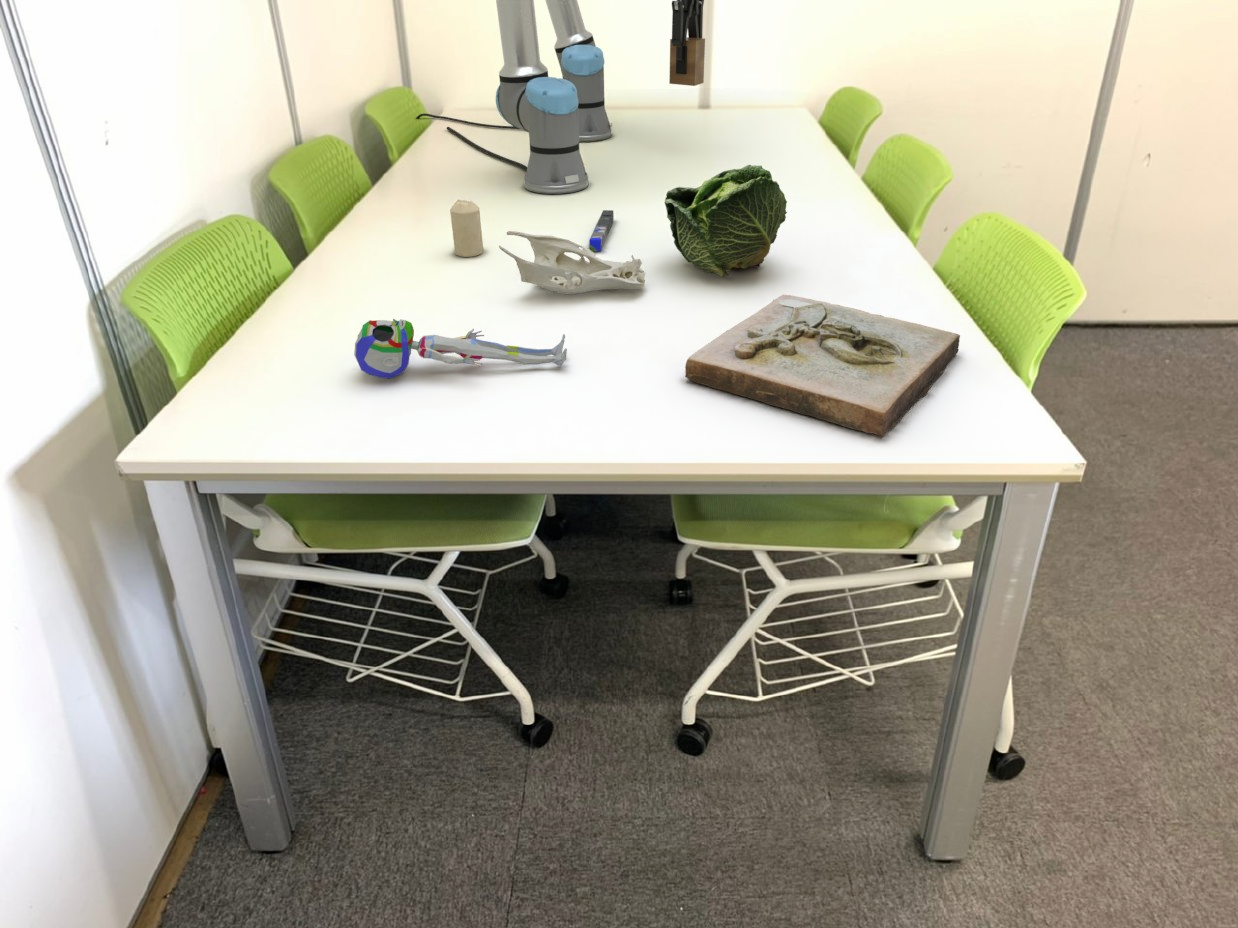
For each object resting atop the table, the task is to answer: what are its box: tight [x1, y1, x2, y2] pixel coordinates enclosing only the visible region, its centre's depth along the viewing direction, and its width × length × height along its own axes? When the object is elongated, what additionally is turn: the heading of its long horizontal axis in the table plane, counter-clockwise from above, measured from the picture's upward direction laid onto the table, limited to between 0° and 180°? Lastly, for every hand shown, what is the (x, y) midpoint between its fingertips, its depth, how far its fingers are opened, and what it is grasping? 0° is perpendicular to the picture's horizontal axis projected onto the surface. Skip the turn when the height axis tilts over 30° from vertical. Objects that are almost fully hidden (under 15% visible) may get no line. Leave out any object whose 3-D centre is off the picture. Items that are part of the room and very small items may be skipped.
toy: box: [353, 318, 568, 379], centre depth 130 cm, size 10×8×30 cm
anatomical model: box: [498, 230, 646, 295], centre depth 156 cm, size 15×9×25 cm
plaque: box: [684, 294, 961, 438], centre depth 129 cm, size 30×7×30 cm
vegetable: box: [664, 164, 788, 278], centre depth 161 cm, size 20×19×20 cm
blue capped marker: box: [588, 209, 615, 252], centre depth 182 cm, size 2×2×20 cm
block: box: [669, 37, 706, 87], centre depth 232 cm, size 5×7×11 cm
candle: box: [449, 199, 484, 258], centre depth 172 cm, size 6×6×10 cm
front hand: (686, 72), depth 234 cm, fingers closed on block, 5 cm apart
